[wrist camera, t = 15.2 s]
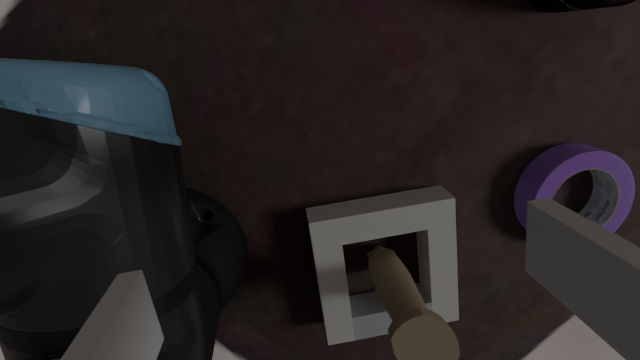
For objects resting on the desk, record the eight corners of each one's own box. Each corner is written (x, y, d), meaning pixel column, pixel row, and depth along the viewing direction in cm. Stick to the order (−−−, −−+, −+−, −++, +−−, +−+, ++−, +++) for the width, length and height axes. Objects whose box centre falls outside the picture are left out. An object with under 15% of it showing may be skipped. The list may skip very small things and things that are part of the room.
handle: (379, 286, 48) (424, 386, 34) (346, 250, 46) (379, 341, 32) (411, 261, 48) (471, 352, 33) (379, 224, 46) (428, 305, 31)
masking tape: (600, 231, 50) (626, 245, 46) (509, 242, 49) (528, 258, 45) (615, 137, 46) (644, 145, 42) (516, 148, 45) (538, 157, 41)
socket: (324, 322, 49) (328, 345, 45) (305, 208, 44) (308, 223, 40) (444, 299, 50) (458, 320, 46) (439, 185, 45) (454, 197, 41)
